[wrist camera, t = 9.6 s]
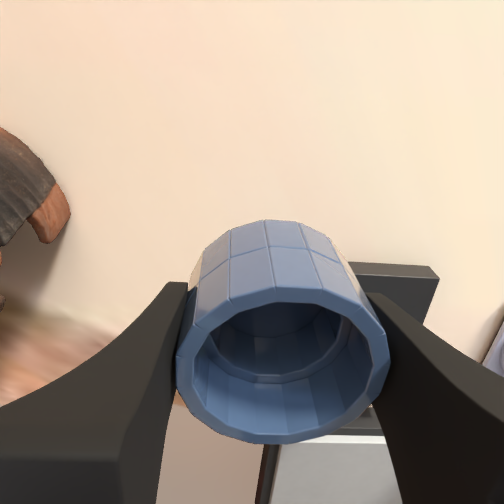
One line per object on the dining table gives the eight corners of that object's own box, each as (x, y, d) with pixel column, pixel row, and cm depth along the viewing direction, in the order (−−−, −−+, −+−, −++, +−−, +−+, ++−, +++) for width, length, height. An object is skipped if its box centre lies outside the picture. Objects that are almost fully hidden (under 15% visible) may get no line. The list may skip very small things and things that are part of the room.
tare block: (428, 265, 22) (455, 295, 20) (385, 387, 27) (402, 424, 24) (258, 256, 21) (262, 285, 19) (244, 383, 26) (245, 421, 23)
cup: (362, 219, 13) (417, 292, 9) (330, 347, 16) (362, 446, 12) (192, 207, 13) (175, 279, 9) (190, 341, 15) (175, 442, 11)
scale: (456, 409, 28) (474, 438, 26) (410, 501, 34) (422, 531, 32) (270, 404, 27) (273, 434, 25) (254, 500, 33) (256, 532, 31)
